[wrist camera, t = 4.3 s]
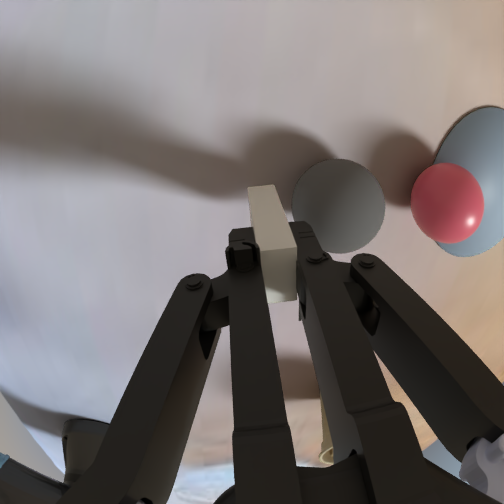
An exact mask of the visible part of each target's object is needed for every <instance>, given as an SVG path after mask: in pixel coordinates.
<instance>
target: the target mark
mask: <svg viewBox="0 0 504 504" xmlns="http://www.w3.org/2000/svg"><path fill="white" fill-rule="evenodd" d="M438 163H453V164H457V165H459V166H461V167H463V168H465V169H466V170H468V171H469V172H470V173H471V174H472V175H473V176H474V177H475V178H476V180H477V181H478V183H479V185H480V187H481V190H482V193H483V197H484V213H483V217H482V220H481V223H480V225H479V227H478V228H477V230H476V231H475V232H474V233H473V234H472V235H471V236H470V237H468V238H467V239H465V240H463V241H461V242H458V243H451V244H447V243H441V242H438V241H436V242H437V243H438V244H439V246H440V247H441V248H442V249H444V250H445V251H446V252H448V253H450V254H451V255H455V256H458V257H470V256H474V255H478V254H480V253H483V252H485V251H487V250H489V249H490V248H492V247H493V246H495V245H496V244H497V243H498V242H499V241H501V240H502V239H503V238H504V110H503V109H500V108H495V107H485V108H481V109H478V110H476V111H474V112H472V113H470V114H468V115H467V116H466V117H464V118H463V119H462V120H461V121H460V122H459V123H458V124H457V125H456V126H455V127H454V128H453V129H452V130H451V132H450V133H449V134H448V136H447V137H446V139H445V141H444V142H443V144H442V146H441V148H440V150H439V152H438V154H437V156H436V159H435V161H434V164H433V165H435V164H438Z"/></svg>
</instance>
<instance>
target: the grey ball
mask: <svg viewBox="0 0 504 504" xmlns="http://www.w3.org/2000/svg"><path fill="white" fill-rule="evenodd" d="M292 213H293V218H294V221H295V222H296V221H305V222H307V223H308V224H310V225H311V227H312V229H313V232H314V233H315V235H316V237H317V239H318V242H319V244H320V246H321V248H322V250H323V251H326V252H330V253H349V252H353V251H356V250H358V249H360V248H362V247H364V246H365V245H367V244H368V243H369V242H370V241H371V240H372V239H373V238H374V237H375V236H376V234H377V233H378V231H379V230H380V227H381V225H382V223H383V220H384V215H385V199H384V195H383V191H382V189H381V186H380V184H379V183H378V181H377V179H376V178H375V177H374V176H373V174H372V173H371V172H370V171H369V170H367V169H366V168H365V167H363V166H362V165H360V164H358V163H355V162H353V161H350V160H345V159H330V160H325V161H322V162H320V163H317V164H315V165H314V166H312V167H311V168H309V169H308V170H307V171H306V172H305V173H304V174H303V175H302V176H301V178H300V179H299V181H298V183H297V185H296V187H295V190H294V193H293V197H292Z"/></svg>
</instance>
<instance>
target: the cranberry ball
mask: <svg viewBox="0 0 504 504" xmlns="http://www.w3.org/2000/svg"><path fill="white" fill-rule="evenodd" d="M411 210H412V214H413V217H414V219H415V221H416V223H417V225H418V227H419V228H420V229H421V230H422V231H423V233H425V234H426V235H427V236H428V237H430V238H431V239H433V240H435V241H438V242H441V243H447V244H451V243H458V242H461V241H463V240H465V239H467V238H468V237H470V236H471V235H472V234H473V233H474V232H475V231H476V230H477V228H478V227H479V225H480V223H481V220H482V217H483V213H484V197H483V193H482V190H481V187H480V185H479V183H478V181H477V180H476V178H475V177H474V176H473V175H472V174H471V173H470V172H469V171H468V170H466V169H465V168H463V167H461V166H459V165H457V164H453V163H438V164H435V165H432V166H430V167H428V168H427V169H425V170H424V171H423V172H422V173H421V174H420V175H419V176H418V178H417V179H416V181H415V183H414V185H413V188H412V192H411Z"/></svg>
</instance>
